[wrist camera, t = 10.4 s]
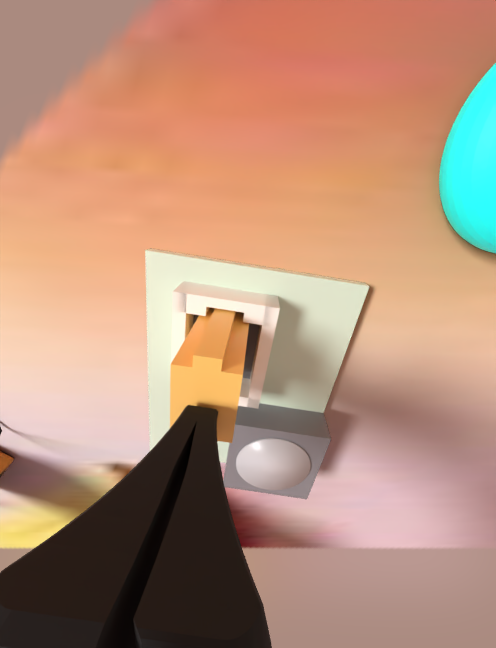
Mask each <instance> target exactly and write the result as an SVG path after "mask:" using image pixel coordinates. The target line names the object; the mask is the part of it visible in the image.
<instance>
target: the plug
mask: <svg viewBox="0 0 496 648" xmlns="http://www.w3.org/2000/svg"><path fill="white" fill-rule="evenodd" d="M243 318H244V313H243V312H237V311H230V310H224V309H218V308H212V307H210V309H209V311H208V312H207V314H206V316H201V315H199V317H198V318H197V320H196V322H195V324H194V325H193V327H192V329H191V330H190V332H189V334H188V335H187V337H186V339H185V341H184V342H183V344H182V346H181V347H180V349H179V351H178V352H177V354H176V356H175V358H174V359H173V361H172V363H171V368H170V428H171V426H172V425H173V424H174V423H175V421H176V420H177V419H178V417H179V416H180V414H181V413H182V412H183V410H184V408H185V407H186V406H187V405H193V406H199V407H206V408H212V409H216V410H217V411H218V418H217V441H222V442H228V443H232V441H233V434H234V428H235V422H236V415H237V409H238V403H239V396H240V390H241V384H242V377H243V370H244V362H245V353H246V345H247V337H248V329H249V323H245V322H243Z"/></svg>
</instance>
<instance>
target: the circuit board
mask: <svg viewBox="0 0 496 648" xmlns="http://www.w3.org/2000/svg"><path fill="white" fill-rule="evenodd" d="M145 260H146V305H147V349H148V393H149V437H150V451H151V450H152V449H153V448H154V446H155V445H156V444H157V443H158V442H159V441H160V440H161V438H162V437H163V436H164V435H165V434H166V432H167V431H168V430H169V429H170V368H171V346H172V304H173V291H174V290H175V289H176V288H177V287H178V286H179V285H180V284H181V283H182V282H183V281H187V282H193V283H200V284H206V285H212V286H219V287H225V288H231V289H237V290H244V291H250V292H256V293H262V294H269V295H275V296H278V299H279V306H280V310H279V315H278V320H277V324H276V329H275V334H274V338H273V343H272V347H271V352H270V357H269V361H268V366H267V370H266V375H265V380H264V384H263V389H262V394H261V398H260V403H262V404H268V405H275V406H281V407H288V408H294V409H301V410H307V411H314V412H320V413H324V411H325V408H326V405H327V402H328V400H329V397H330V394H331V391H332V388H333V386H334V383H335V380H336V377H337V375H338V372H339V369H340V366H341V364H342V361H343V358H344V355H345V353H346V350H347V347H348V344H349V342H350V339H351V336H352V333H353V331H354V328H355V325H356V322H357V320H358V317H359V314H360V311H361V309H362V306H363V303H364V300H365V298H366V295H367V292H368V289H369V285H367V284H366V283H363V282H357V281H351V280H345V279H339V278H332V277H326V276H320V275H314V274H307V273H301V272H295V271H289V270H283V269H276V268H270V267H264V266H258V265H251V264H245V263H239V262H233V261H227V260H220V259H214V258H208V257H202V256H195V255H189V254H183V253H177V252H171V251H164V250H158V249H152V248H150V249H147V250H145ZM217 443H218V452H219V460H220V462H224V463H226V459H227V453H228V447H229V443H228V442H222V441H217Z"/></svg>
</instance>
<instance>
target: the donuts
mask: <svg viewBox="0 0 496 648" xmlns="http://www.w3.org/2000/svg"><path fill="white" fill-rule="evenodd" d="M439 191H440V198H441V202H442V206H443V210H444V212H445V215H446V217H447V219H448V221H449V223H450V224H451V226H452V227H453V229H454V230H455V231H456V232H457V233H458V234H459V235H460V236H461V237H462V238H463V239H465V240H466V241H467V242H469V243H470V244H472V245H474V246H475V247H477V248H479V249H482V250H485V251H487V252H492V253H496V63H495V64H494V65H493V66H492V67H491V68H490V70H489V71H488V72H487V73H486V74H485V75H484V77H483V78H482V79H481V80H480V81H479V83H478V84H477V85H476V87H475V88H474V90H473V91H472V92H471V94H470V95H469V97H468V98H467V100H466V102H465V103H464V105H463V107H462V108H461V110H460V112H459V114H458V116H457V118H456V120H455V122H454V124H453V126H452V129H451V131H450V133H449V136H448V138H447V141H446V145H445V148H444V151H443V155H442V160H441V165H440V173H439Z"/></svg>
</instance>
